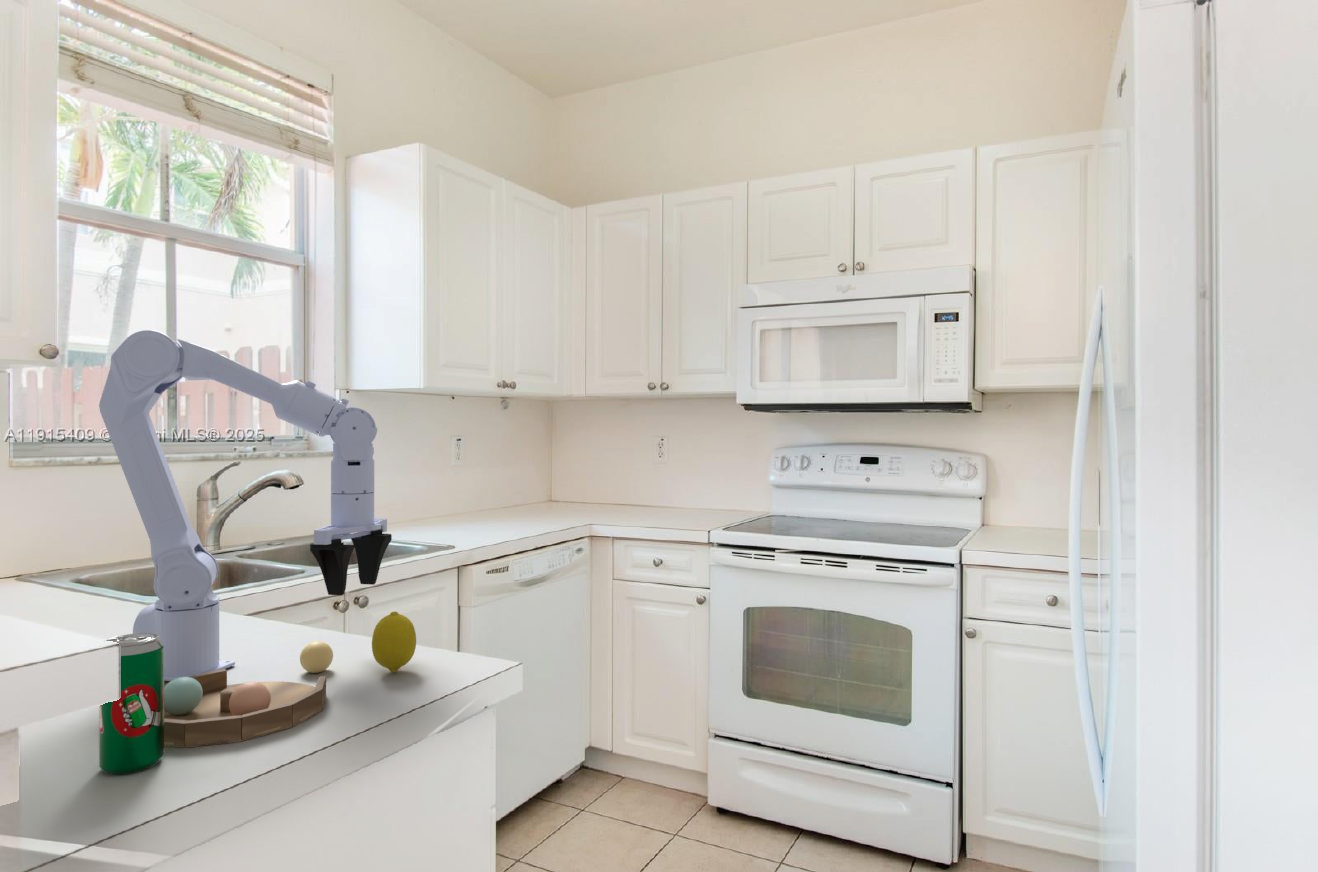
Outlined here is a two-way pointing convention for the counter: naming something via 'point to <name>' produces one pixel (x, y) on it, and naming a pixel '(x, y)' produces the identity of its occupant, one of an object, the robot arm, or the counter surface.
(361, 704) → the counter surface
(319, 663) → the pale yellow ball
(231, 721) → the groove tray
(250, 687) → the bead terracotta
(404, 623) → the lemon
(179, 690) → the bead teal
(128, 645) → the soda can
